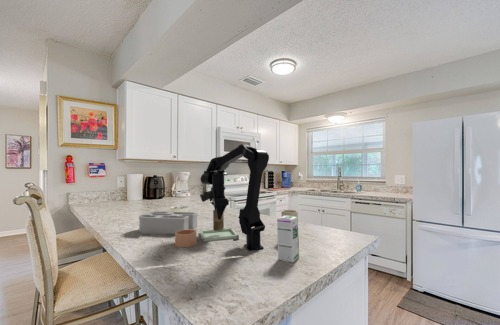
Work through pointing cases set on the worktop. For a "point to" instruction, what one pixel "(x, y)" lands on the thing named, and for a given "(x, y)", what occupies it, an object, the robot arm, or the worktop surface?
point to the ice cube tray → (167, 222)
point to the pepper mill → (218, 222)
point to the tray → (219, 235)
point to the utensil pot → (185, 238)
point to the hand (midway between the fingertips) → (218, 218)
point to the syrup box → (288, 238)
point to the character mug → (290, 213)
